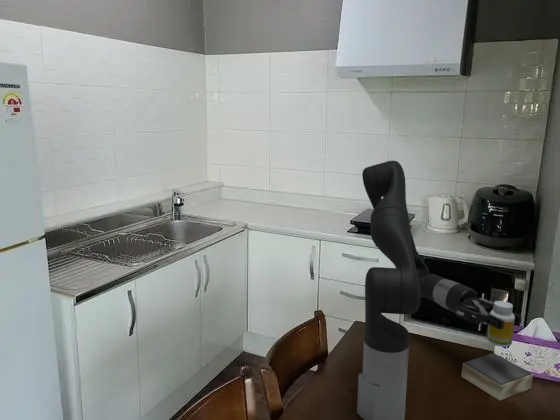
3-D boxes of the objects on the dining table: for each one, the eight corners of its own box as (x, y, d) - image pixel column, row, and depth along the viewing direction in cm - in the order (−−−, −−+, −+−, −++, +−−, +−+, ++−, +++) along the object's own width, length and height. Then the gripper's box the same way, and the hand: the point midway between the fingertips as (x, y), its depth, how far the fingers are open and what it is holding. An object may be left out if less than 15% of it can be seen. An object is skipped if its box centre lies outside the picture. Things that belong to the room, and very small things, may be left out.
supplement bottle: (514, 348, 106) (519, 309, 104) (490, 346, 107) (494, 307, 105) (508, 337, 111) (512, 300, 109) (484, 335, 112) (488, 298, 110)
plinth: (499, 400, 104) (501, 384, 103) (461, 376, 113) (462, 361, 113) (531, 388, 108) (533, 373, 108) (492, 366, 118) (493, 352, 117)
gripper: (435, 288, 116) (492, 313, 102) (475, 279, 123) (534, 302, 108) (433, 315, 118) (488, 344, 103) (472, 305, 124) (530, 331, 109)
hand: (511, 322), depth 105 cm, fingers closed on supplement bottle, 5 cm apart
